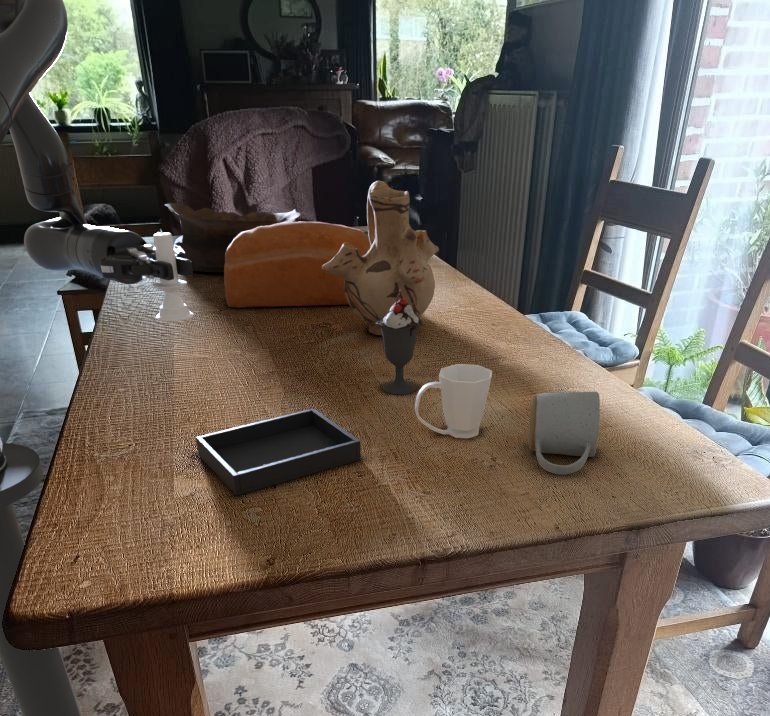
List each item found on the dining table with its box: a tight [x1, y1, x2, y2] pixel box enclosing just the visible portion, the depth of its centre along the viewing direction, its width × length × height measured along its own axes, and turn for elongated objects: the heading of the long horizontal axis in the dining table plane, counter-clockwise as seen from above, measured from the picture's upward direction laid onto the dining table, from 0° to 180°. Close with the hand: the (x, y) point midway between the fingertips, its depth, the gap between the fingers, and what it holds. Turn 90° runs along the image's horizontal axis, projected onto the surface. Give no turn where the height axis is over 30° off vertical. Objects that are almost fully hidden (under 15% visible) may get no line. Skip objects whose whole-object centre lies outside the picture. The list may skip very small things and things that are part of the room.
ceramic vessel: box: [322, 180, 440, 337], centre depth 126 cm, size 18×19×25 cm
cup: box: [414, 363, 493, 439], centre depth 90 cm, size 7×10×8 cm
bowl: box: [163, 202, 301, 273], centre depth 179 cm, size 34×33×15 cm
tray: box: [195, 408, 362, 497], centre depth 86 cm, size 16×12×2 cm
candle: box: [152, 228, 195, 323], centre depth 100 cm, size 5×5×12 cm
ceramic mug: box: [527, 391, 601, 476], centre depth 84 cm, size 11×8×8 cm
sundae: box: [376, 290, 424, 395], centre depth 102 cm, size 7×7×15 cm
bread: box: [223, 221, 371, 309], centre depth 148 cm, size 14×33×16 cm, turn 94°
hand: (180, 270), depth 97 cm, fingers closed on candle, 2 cm apart
